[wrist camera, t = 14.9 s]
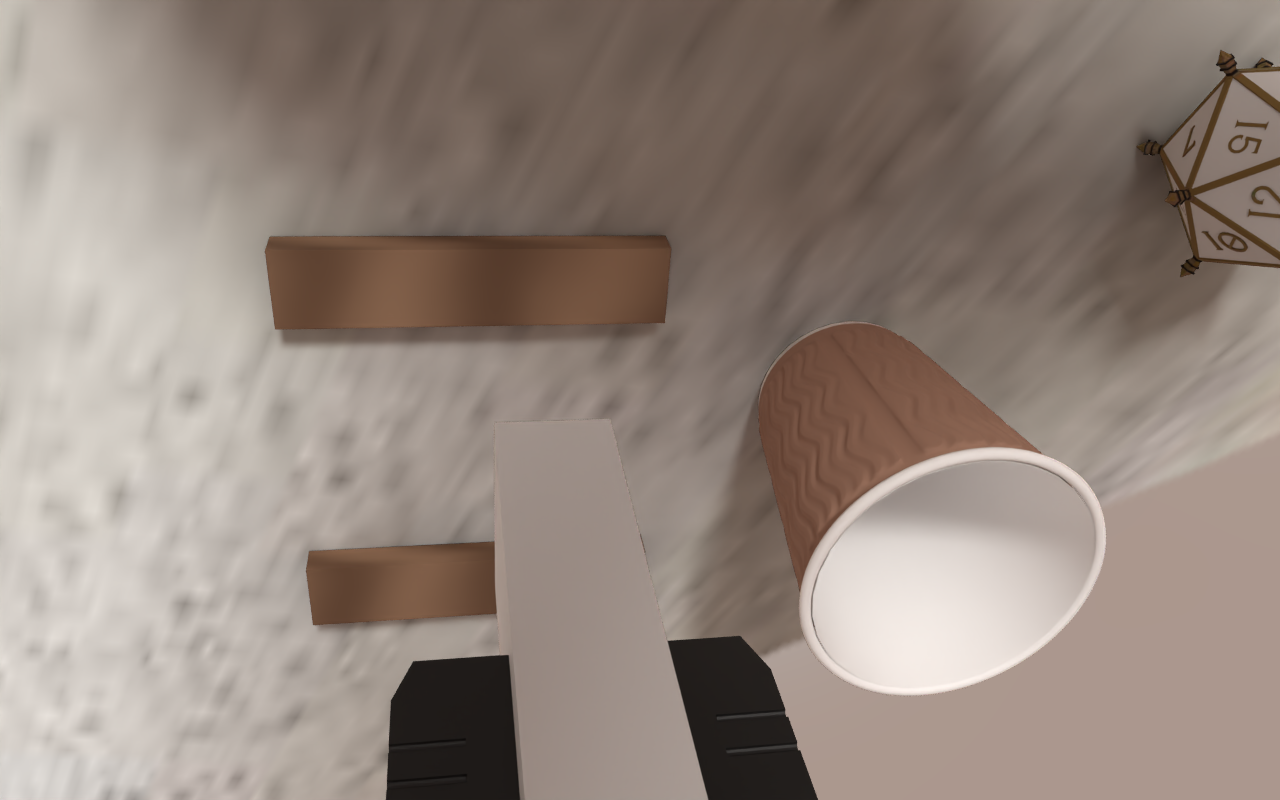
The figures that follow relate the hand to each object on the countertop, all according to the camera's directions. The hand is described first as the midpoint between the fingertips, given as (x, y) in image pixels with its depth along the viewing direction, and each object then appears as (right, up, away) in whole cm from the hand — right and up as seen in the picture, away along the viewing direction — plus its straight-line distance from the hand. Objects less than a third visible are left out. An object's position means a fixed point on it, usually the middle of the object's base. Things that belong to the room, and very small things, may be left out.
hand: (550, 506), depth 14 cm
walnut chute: (-5, 0, +28) cm, 29 cm away
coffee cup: (+9, +2, +30) cm, 32 cm away
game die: (+23, +12, +27) cm, 37 cm away
